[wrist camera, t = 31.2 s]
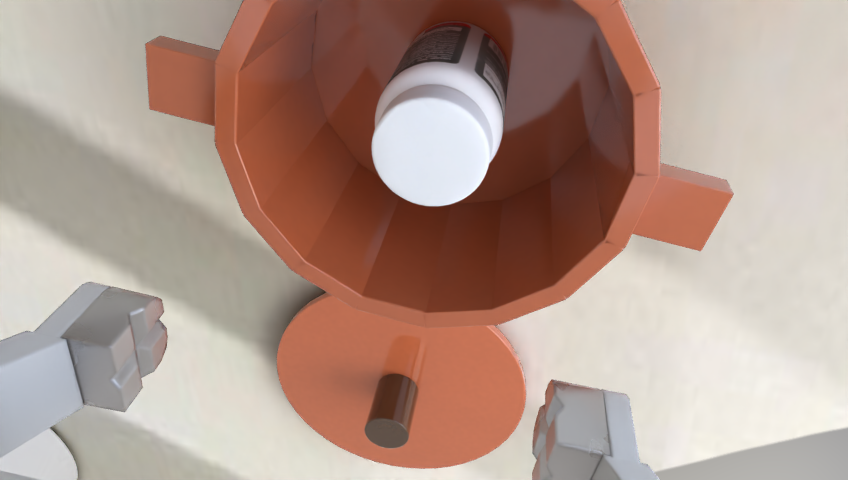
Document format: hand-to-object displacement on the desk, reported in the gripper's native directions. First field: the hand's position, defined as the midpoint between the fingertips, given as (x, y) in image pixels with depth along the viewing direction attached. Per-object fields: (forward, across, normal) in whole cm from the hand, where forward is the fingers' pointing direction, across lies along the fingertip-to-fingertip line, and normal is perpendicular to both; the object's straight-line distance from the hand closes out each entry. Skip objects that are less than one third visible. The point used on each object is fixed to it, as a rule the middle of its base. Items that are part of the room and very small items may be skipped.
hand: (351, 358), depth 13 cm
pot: (+18, 0, 0) cm, 18 cm away
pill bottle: (+18, 0, 0) cm, 18 cm away
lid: (+18, 0, +20) cm, 27 cm away
